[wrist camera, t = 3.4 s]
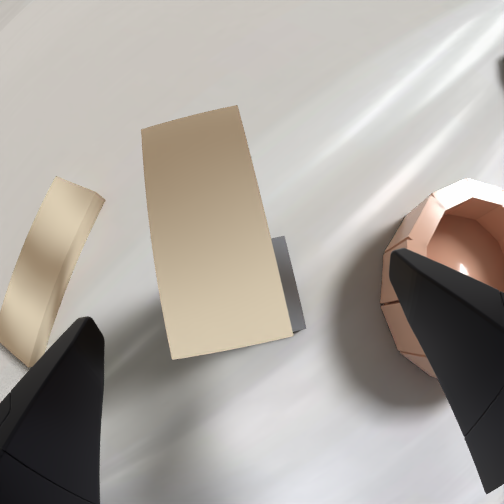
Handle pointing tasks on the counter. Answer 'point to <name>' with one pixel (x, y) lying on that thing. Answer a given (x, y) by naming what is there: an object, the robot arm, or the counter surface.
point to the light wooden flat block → (46, 268)
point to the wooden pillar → (214, 239)
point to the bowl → (448, 248)
